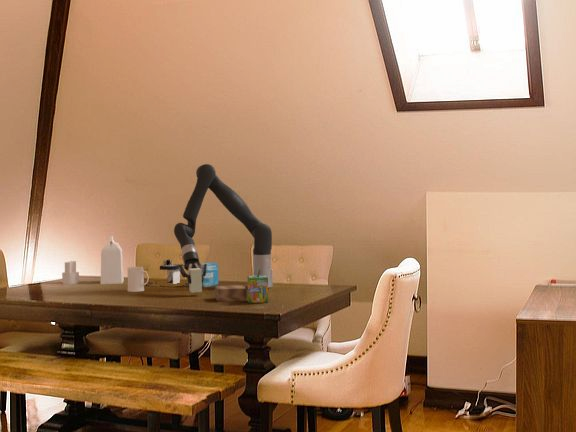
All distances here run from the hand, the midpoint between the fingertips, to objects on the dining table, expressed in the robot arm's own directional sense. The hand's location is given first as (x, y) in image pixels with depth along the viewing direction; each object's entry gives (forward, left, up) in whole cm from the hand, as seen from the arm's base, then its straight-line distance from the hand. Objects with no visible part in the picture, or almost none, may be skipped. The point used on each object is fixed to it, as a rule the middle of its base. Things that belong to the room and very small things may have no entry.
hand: (196, 282), depth 385 cm
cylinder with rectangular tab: (+51, -87, -7) cm, 101 cm away
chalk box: (-21, +31, -7) cm, 38 cm away
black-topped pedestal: (0, -59, -7) cm, 60 cm away
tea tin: (0, -2, -5) cm, 5 cm away
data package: (-16, -40, -7) cm, 43 cm away
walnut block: (-12, +18, -7) cm, 23 cm away
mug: (+22, -34, -7) cm, 41 cm away
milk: (+29, -80, -7) cm, 85 cm away
